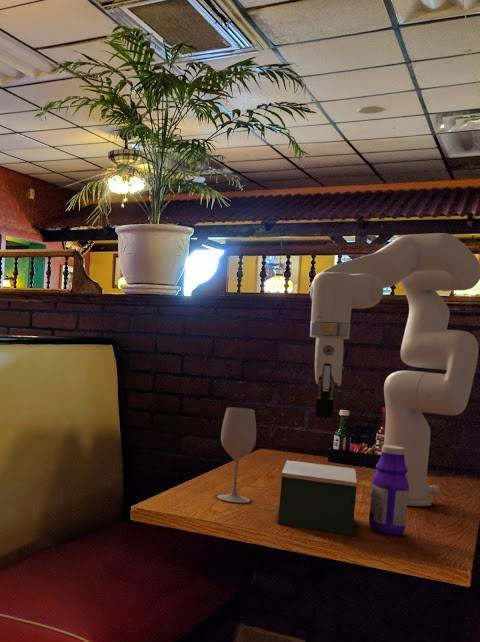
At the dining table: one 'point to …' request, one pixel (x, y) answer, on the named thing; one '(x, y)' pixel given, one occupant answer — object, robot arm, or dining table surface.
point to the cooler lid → (320, 473)
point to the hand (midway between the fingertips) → (323, 417)
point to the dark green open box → (317, 505)
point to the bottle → (389, 492)
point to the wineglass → (238, 442)
